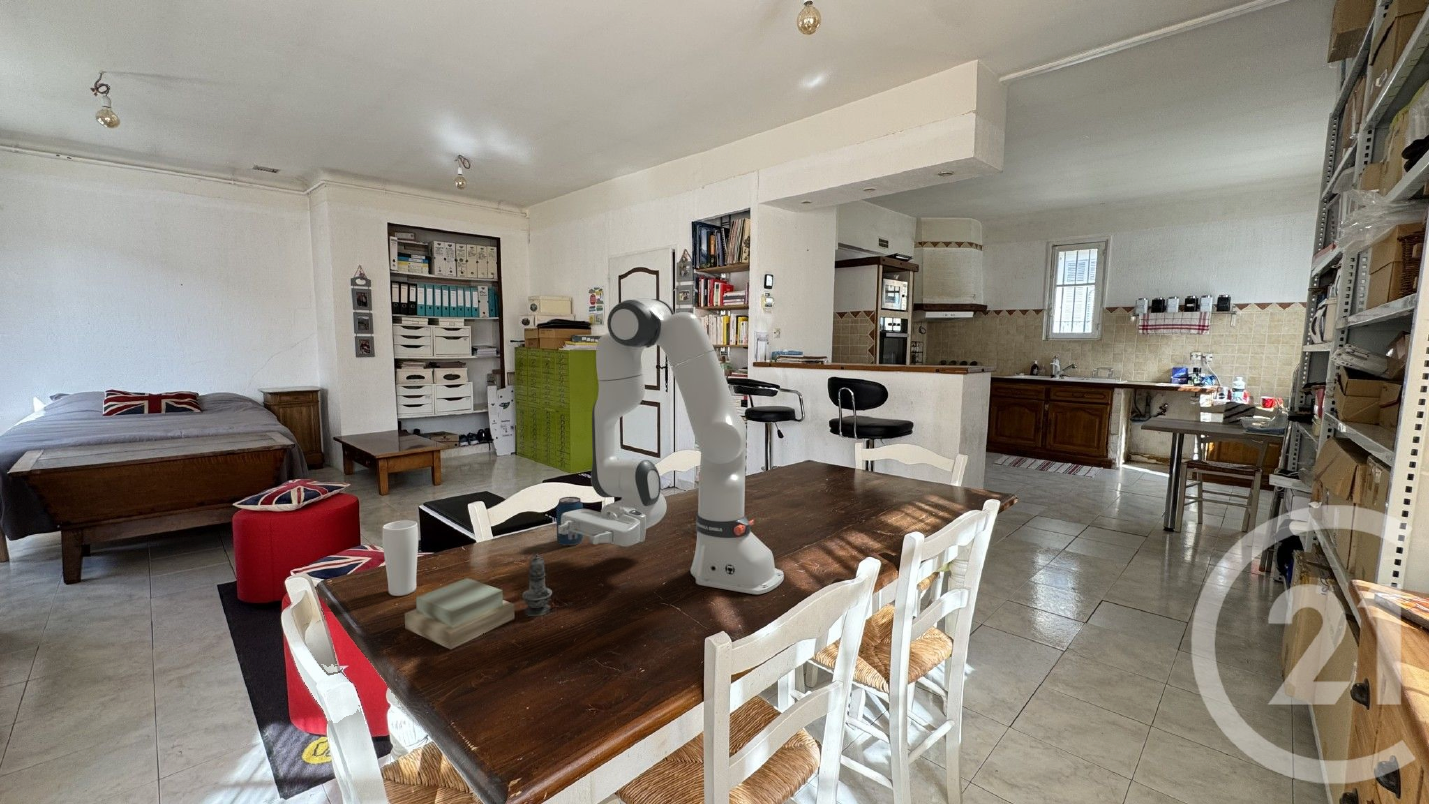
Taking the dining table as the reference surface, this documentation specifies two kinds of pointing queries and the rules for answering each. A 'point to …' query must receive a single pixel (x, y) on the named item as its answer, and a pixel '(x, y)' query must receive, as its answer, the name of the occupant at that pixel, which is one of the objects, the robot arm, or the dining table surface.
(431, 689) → the dining table surface
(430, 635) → the brick tower base
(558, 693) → the dining table surface
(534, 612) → the dark grey ornamental finial
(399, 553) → the drinking glass
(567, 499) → the soda can
